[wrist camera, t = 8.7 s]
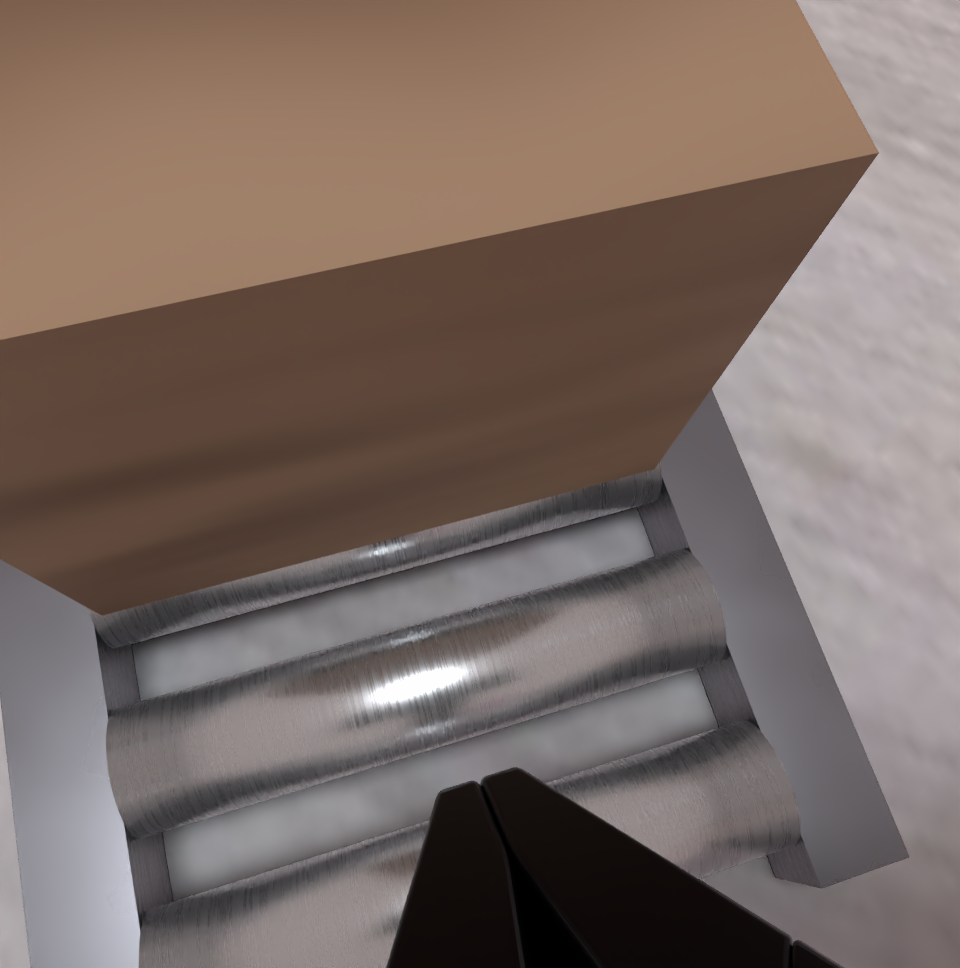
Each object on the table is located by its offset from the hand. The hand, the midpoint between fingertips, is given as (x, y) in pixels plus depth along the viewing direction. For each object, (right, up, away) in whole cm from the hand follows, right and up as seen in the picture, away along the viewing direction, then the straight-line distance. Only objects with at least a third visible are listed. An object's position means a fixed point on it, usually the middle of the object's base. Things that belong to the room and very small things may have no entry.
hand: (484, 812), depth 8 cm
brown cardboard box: (-3, +6, +6) cm, 9 cm away
